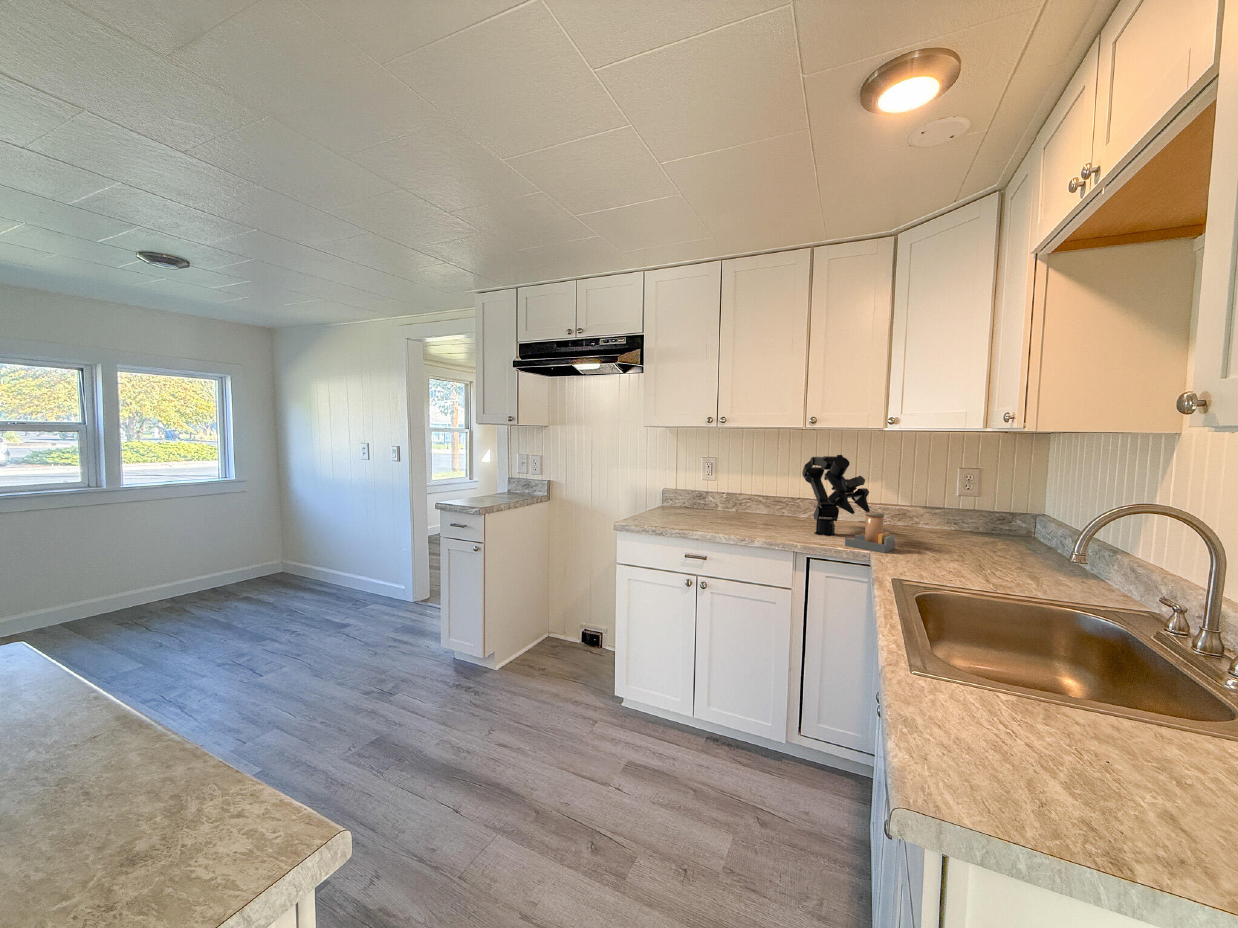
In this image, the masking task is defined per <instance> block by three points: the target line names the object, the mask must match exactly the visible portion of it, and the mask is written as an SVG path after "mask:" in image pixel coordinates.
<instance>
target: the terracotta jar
mask: <svg viewBox="0 0 1238 928" xmlns="http://www.w3.org/2000/svg"><path fill="white" fill-rule="evenodd" d="M864 516H865V523H864V525H865V527H864V536H865V541H867V542H873V543H878V534H881V533H884V518H885V513H884V512H879V511H870V512H866V511H865V513H864Z"/></svg>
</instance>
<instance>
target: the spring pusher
mask: <svg viewBox="0 0 1238 928" xmlns="http://www.w3.org/2000/svg"><path fill="white" fill-rule="evenodd" d="M888 536H890V532H889V531H883V533H881V534H878V543H879V544H884V538H885V537H888Z"/></svg>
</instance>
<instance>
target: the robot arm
mask: <svg viewBox="0 0 1238 928" xmlns="http://www.w3.org/2000/svg"><path fill="white" fill-rule="evenodd" d="M816 466H817V467H816ZM849 467H850V461H849V459H847V457H844V455H843V454H837V455H836V456H831V455H829V456H828V455H827V456H826V455H825V456H824V455H823V456H811V457H810V460H809V461H808V462H807V463H805V464H804V466H803V469H802V477H803V478H804V480H805V481H806V482H807V483H808V484H810V485H811V489H812V491H813V493H814V497H815V498H816V502H817V506H816V508H815V510H814V513H813V519H814V520H815V521H816V526H815V527H816V528H815V532H814V534H815V535H820V536H821V535H822V536H827V537H830V536H832V535H836V533H835V527H836V524H835V522H838V518H839V514H840V510H839V508H840V509H842V510H845V511H846V512H847V513H849V514H851V515H854V514H855V513H856V512H855V510H854V508H853V507H852V505H851V503H850V501H849V500H848V499H851V500H852V501H854V504H855V505H857V506H858V507H860V508H861V509H862V510H863V511H865V512H871V510H870V506H869V504H868V500H867V496H869V494H870V491H869V489H868V488H866V487H861V488H857V487H860V486H864V485H865V483H866V479H865V478H864V477H863V476H862V475H858V476H856V477H852V478H849V479H848V478H845V476H844V474H846V472H847V469H848V468H849ZM825 471H826V472H825ZM823 475H824V478H823ZM822 478H823V479H824V481H827V482H829V484H830V485H831V486H832V487H831V488H830V489H831V490H832V491H833V492H832V493H831V494H830V495H828V493H827V491H826V489H825V486H824V483H823V481H822ZM814 534H813V535H814Z"/></svg>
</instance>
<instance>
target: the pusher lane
mask: <svg viewBox="0 0 1238 928" xmlns="http://www.w3.org/2000/svg"><path fill="white" fill-rule="evenodd" d="M895 539H896V536H895V534H891V535H890V534H889V536H888V537H885V538H884V544H879V543H873V542H867V541H865V535H860V534H859V535H858V534H854V538H850V537H849V538H848V537H845V538H844V546H845V547H848V548H855V549H860V550H865V551H872V552H876V553H882V554H887V553H889V552H891V551H894V550H895V549H896V541H895Z"/></svg>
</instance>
